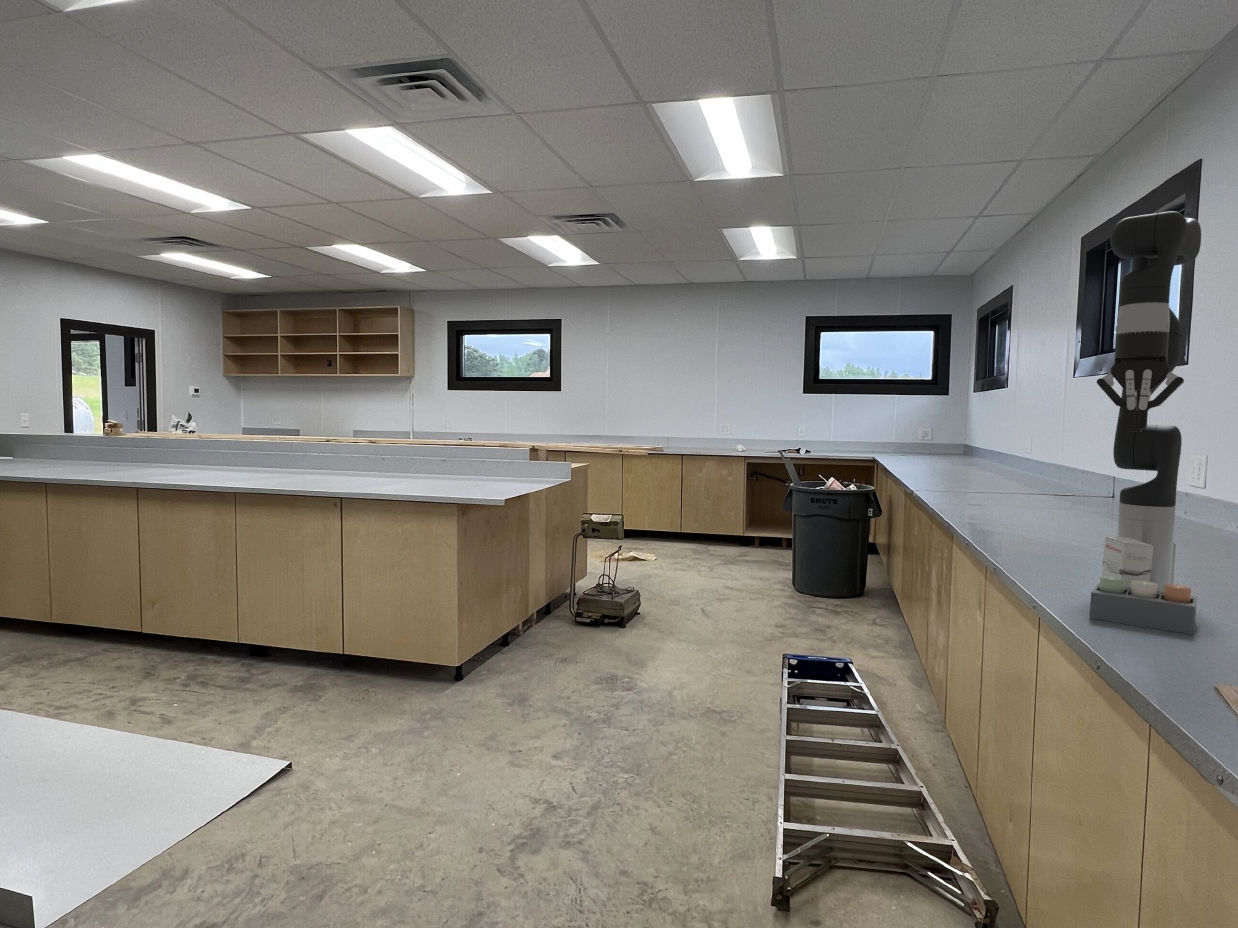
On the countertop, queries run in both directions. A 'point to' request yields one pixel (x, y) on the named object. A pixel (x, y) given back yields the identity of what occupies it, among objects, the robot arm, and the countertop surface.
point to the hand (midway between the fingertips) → (1136, 431)
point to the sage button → (1112, 584)
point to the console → (1143, 610)
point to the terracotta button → (1177, 593)
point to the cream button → (1144, 588)
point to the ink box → (1127, 559)
